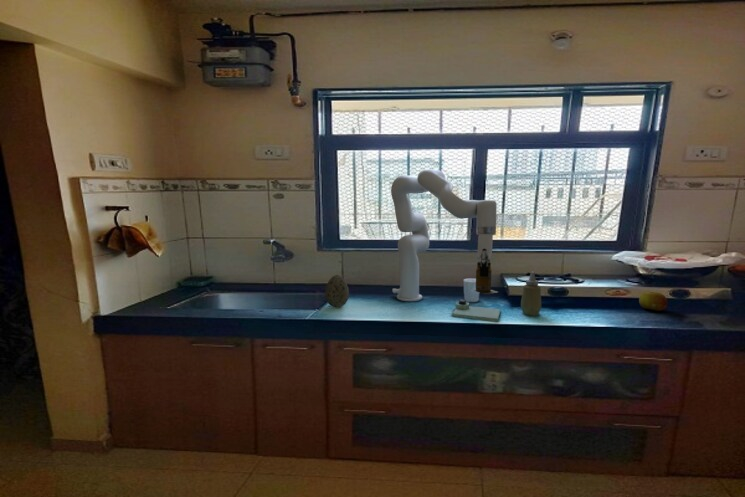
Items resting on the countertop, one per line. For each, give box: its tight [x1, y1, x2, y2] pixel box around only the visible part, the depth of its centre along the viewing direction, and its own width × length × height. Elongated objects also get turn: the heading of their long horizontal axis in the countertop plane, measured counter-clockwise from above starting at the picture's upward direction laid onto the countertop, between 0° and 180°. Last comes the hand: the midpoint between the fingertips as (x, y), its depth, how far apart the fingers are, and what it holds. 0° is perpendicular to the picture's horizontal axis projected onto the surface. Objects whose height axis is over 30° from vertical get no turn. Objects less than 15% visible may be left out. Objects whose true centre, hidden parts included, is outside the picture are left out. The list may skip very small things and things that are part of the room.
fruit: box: [638, 291, 668, 312], centre depth 150 cm, size 10×9×8 cm
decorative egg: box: [324, 274, 350, 309], centre depth 160 cm, size 11×11×15 cm
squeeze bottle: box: [520, 271, 543, 317], centre depth 147 cm, size 8×8×18 cm
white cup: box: [462, 277, 480, 303], centre depth 169 cm, size 8×8×10 cm
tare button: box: [458, 299, 467, 305], centre depth 154 cm, size 3×3×2 cm
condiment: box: [472, 261, 498, 295], centre depth 143 cm, size 7×8×12 cm
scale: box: [451, 301, 501, 322], centre depth 148 cm, size 18×13×3 cm
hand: (485, 274), depth 144 cm, fingers closed on condiment, 6 cm apart
